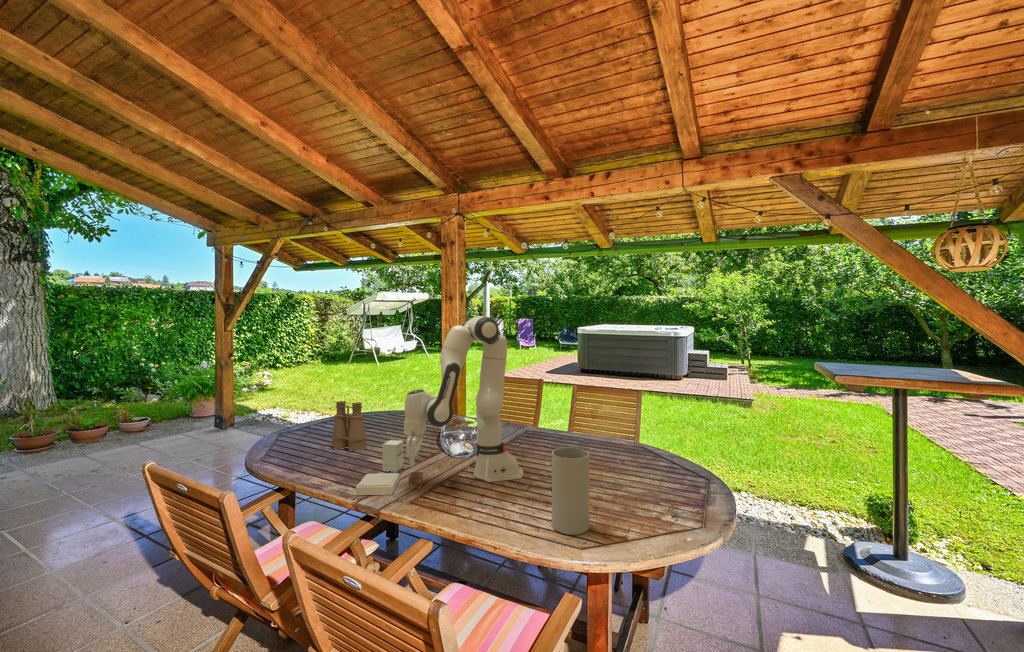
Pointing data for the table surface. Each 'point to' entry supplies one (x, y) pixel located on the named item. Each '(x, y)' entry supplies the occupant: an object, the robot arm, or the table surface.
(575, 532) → the cylinder vase
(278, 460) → the table surface
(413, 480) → the walnut block
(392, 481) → the plinth
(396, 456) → the supplement box
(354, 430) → the binoculars
